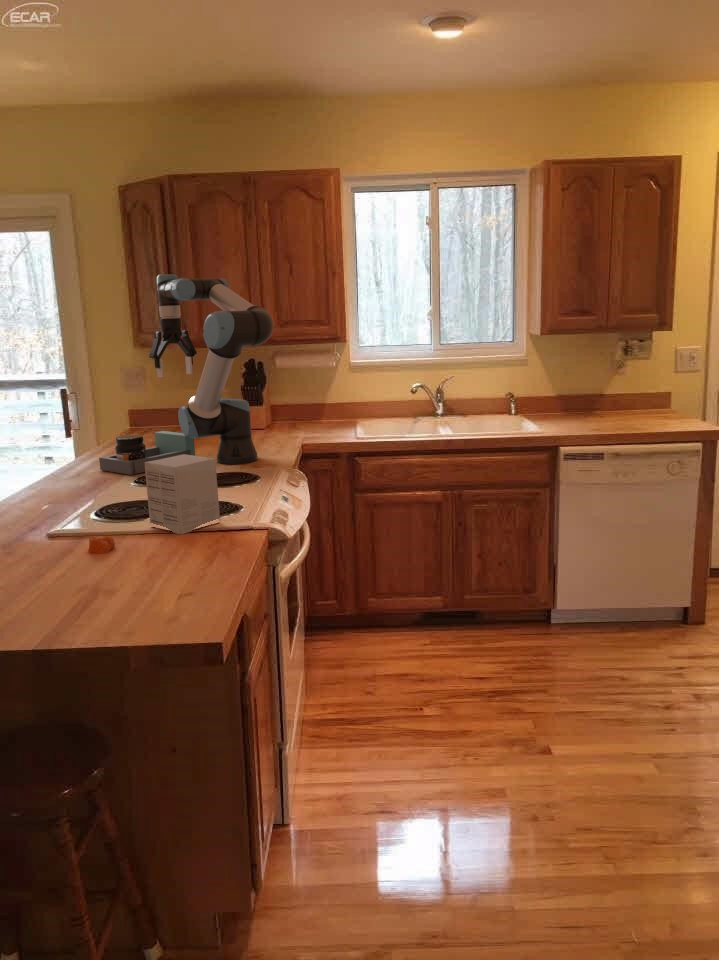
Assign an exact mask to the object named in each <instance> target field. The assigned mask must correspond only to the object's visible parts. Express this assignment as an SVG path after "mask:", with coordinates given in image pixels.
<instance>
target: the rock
mask: <svg viewBox="0 0 719 960" xmlns="http://www.w3.org/2000/svg"><path fill="white" fill-rule="evenodd" d="M88 543H89V544H88V550H87V552H88V553H89V554H93V555H94V553H95V555H104V554H108V552H109V553H110V552H111V550H112V549H114V547H115V546H116V541H115V539H114V538H113V536H105V537H102V538H101V537H98V538H97V537H94V536H91V537H89V542H88Z"/></svg>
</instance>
